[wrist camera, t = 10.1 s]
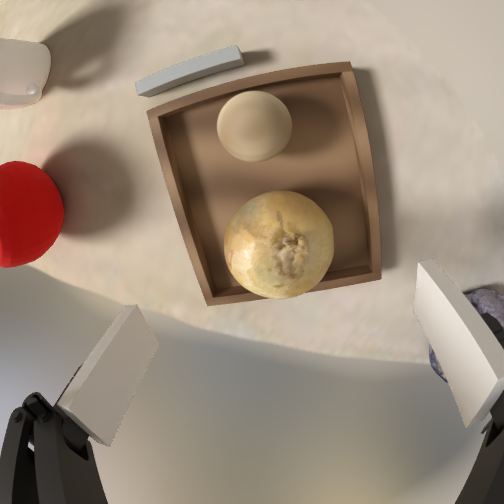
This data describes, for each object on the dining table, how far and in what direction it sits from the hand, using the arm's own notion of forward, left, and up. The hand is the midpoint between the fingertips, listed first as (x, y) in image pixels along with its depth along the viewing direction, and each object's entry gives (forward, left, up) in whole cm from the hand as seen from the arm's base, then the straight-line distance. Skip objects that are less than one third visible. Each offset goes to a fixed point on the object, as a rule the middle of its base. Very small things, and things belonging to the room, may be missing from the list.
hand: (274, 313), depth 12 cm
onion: (+1, 0, -12) cm, 12 cm away
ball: (-8, 0, -12) cm, 14 cm away
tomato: (-9, -24, -12) cm, 29 cm away
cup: (-23, -22, -12) cm, 34 cm away
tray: (-3, 0, -12) cm, 12 cm away
